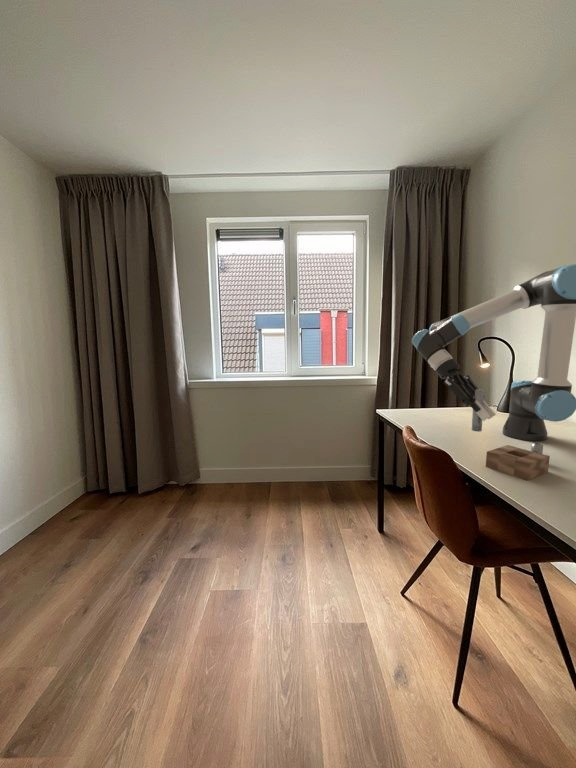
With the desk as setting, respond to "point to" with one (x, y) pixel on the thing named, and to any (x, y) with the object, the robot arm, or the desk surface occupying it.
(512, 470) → the block
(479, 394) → the long pin
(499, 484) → the desk surface
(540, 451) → the short pin
